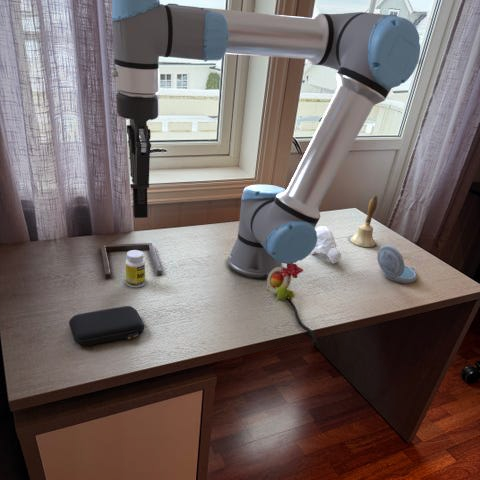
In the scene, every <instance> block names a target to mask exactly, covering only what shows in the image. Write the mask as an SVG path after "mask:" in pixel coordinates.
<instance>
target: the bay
mask: <svg viewBox="0 0 480 480" xmlns="http://www.w3.org/2000/svg"><path fill="white" fill-rule="evenodd" d="M131 250H139V251H144V250H146V251H147V250H148V252H149V255H150V258H151V261H152V263H153V266H154V269H155V272H156V275H157V276H162V275H163V269H162V267H161V264H160V261H159V258H158V256H157V253H156V251H155V247H154V245H153V243H152V242H143V243H142V242H141V243H140V242H139V243H117V244H100V252H101V259H102V264H103V270H104V271H103V272H104V275H105V279H107V280H108V279H109V280H110V279H111V278H112V277H111V270H110V264H109V260H108V253H107V252H122V251H123V252H125V251H131Z"/></svg>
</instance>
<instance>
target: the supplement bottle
mask: <svg viewBox="0 0 480 480" xmlns="http://www.w3.org/2000/svg"><path fill="white" fill-rule="evenodd" d="M144 258H145V257H144V252H143V251H142V250H128V251H127V253H126V260H125V283H126V285H127V286H129V287H131V288H140V287H141V288H142V287H143V286H144V285H145V284H146V261H145V259H144Z"/></svg>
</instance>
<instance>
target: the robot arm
mask: <svg viewBox="0 0 480 480" xmlns="http://www.w3.org/2000/svg"><path fill="white" fill-rule="evenodd" d="M111 26H112V41H113V58H114V68H115V69H113V70H111V76H112V77H113V78H114V77H115V88H116V90H117V92H116V94H115V99H116V100H115V102H116V113H117V115H118V116H119V117H121V118H123V119H126V120H129V124H126V134H127V141H128V143H127V144H128V150H129V151H128V152H129V167H130V177H131V182H132V183H130V189H132V207H133V208H132V209H133V211H132V212H133V218H134V219H141V218H142V219H144V218H146V219H147V218H149V216H148V214H149V213H148V210H149V209H148V189H150V163H151V162H150V161H151V150H152V149H151V148H152V143H151V141H150V140H151V137H152V136H151V129H150V128H149V126H148V121H154V120H157V118H159V113H160V112H159V111H160V109H159V108H160V107H159V104H160V103H159V99H160V98H159V97H158V95H157V94H158V93H160V67H159V63H160V62H159V60H160V57H163V58H176V59H184V60H196V61H203V62H208V61H210V62H211V61H212V62H213V61H214V62H215V61H216V62H218V61H221V60H222V59H223V58H224V57H225V55H226V54H227V55H239V56H241V55H243V56H256V57H269V58H283V59H296V60H297V59H299V60H307V62H308V63H309V64H310V65H312V66H321V67H322V66H323V67H326V68H331V69H333V70H336V71H337V72H336V75H335V78H336V82H337V89H336V90H335V93H334V94H333V97H331V101H330V103H329V104H328V107H327V108H326V110H325V112H324V115H323V117H322V119H321V121H320V123H319V124H318V127H317V128H316V130H315V132H314V135H313V136H312V139H311V141H310V142H309V144H308V146H307V148H306V150H305V152H304V154H303V157H302V159H301V160H300V162H299V164H298V166H297V168H296V170H295V172H294V174H293V176H292V178H291V180H290V182H289V184H288V186H287V188H286V189H285V188H284V187H281V186H278V185H272V184H251V185H247V186H246V187H244V189H243V191H242V196H241V199H240V212H239V220H238V228H237V229H238V230H237V238H236V240H235V242H234V245H233V247H232V248H231V251H230V253H229V255H228V262H227V264H228V267H229V268H230V269H231V271H233V272H234V273H235V274H237V275H240V276H242V277H246V278H249V279H256V280H257V279H258V280H260V279H261V280H262V279H263V280H264V279H266V280H267V279H268V276H269V274H270V272H271V271H272V270H273V269H274V268H276V267H282V264H286V265H287V264H291V263H293V264H296V263H297V262H299V261H303V260H305V259H306V258H307V257H309V255H311V252H312V251H313V249H314V248H315V246H316V243H317V233H316V230H315V229H316V226H317V225H318V222H319V220H320V218H321V213H320V210H319V209H320V206H321V204H322V202H323V200H324V198H325V196H326V195H327V193H328V191H329V189H330V187H331V185H332V183H333V181H334V180H335V178H336V176H337V174H338V173H339V170H340V169H341V167H342V166H343V163H344V161H345V160H346V157H347V156H348V154H349V152H350V151H351V148H352V147H353V144H354V143H355V141H356V140H357V138H358V136H359V134H360V132H361V130H362V128H363V126H364V124H365V123H366V121H367V119H368V117H369V115H370V113H371V112H372V110H373V108H374V106H376V105H378V104H380V103H383V102H385V101H386V99H387V97H388V96H389V93H390V92H391V90H392V89H395V88H397V87H399V86H401V84H405V83H406V82H407V81H408V80H409V79H410V78H411V76H412V75H413V74H414V72H415V71H416V68H417V65H418V63H419V60H420V54H421V44H420V39H421V37H420V33H419V31H418V29H417V27H416V25H415V24H414V23H413V22H412V21H411V20H410V19H407V18H405V17H402V16H398V15H397V14H393V13H392V14H382V13H372V12H365V11H357V12H346V13H345V12H344V13H323V12H321V13H315V14H314V15H313V16H312V17H304V16H292V15H284V14H272V13H263V12H251V11H242V10H232V9H221V8H212V7H199V6H190V5H180V4H178V3H167V4H163V3H161V1H160V0H111ZM275 288H276V287H275ZM284 300H285V301H286V302H287V303H288V304H289V305H290V307H291V308H292V311H293V314H294V317H295V319H296V322H297V324H298V325H299V327H300V328H302V329H303V330H304V331H306V332H307V333H309V334H310V336H311V338H312V341H313V342H314V343H317V342H318V341H317V337H316V334H315V333H314V332H313V330H312V329H311V328H309V326H307V325H305V324H303V322H302V320H301V318H300V316H299V313H298V309H297V307H296V306H295V304H294V302H293V300H292V301H291V300H290V299H289V298H288V297H286V298H285V299H284Z"/></svg>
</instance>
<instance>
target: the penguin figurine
mask: <svg viewBox="0 0 480 480" xmlns="http://www.w3.org/2000/svg"><path fill="white" fill-rule="evenodd" d="M315 230H316V233H317V243H316V246H315V248H314V249H313V251H312V252H311V253H310V255H315V254H316V253H321V254H323V255H325V256H327V258H326V261H327V262H328V263H331V264H334V265H335V264H336V263H338V262H339V261H340V260H341V259H342V253H341V252H340V250H339V249H338V247H337V243H336V241H335V237H334V234H333V232H332V231H331V229H330V228H328V227H327V226H325V225H320V226H318V227H315Z"/></svg>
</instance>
